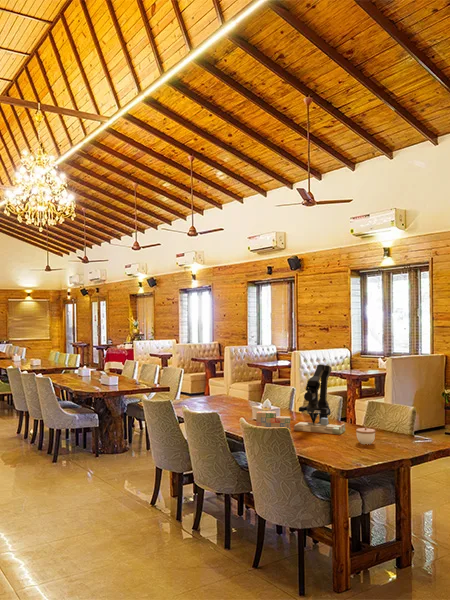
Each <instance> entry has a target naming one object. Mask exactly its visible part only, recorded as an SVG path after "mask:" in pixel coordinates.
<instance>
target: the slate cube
mask: <svg viewBox="0 0 450 600" xmlns="http://www.w3.org/2000/svg"><path fill="white" fill-rule="evenodd" d="M328 422H329V417H328V418H321V425H328V424H329V423H328Z"/></svg>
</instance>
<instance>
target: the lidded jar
mask: <svg viewBox="0 0 450 600" xmlns="http://www.w3.org/2000/svg"><path fill="white" fill-rule="evenodd" d="M355 433H356V439H357V441H358V442H359V443H360V444H361V445H365V444H367V445H368V444H369V445H372V443H373V442H375V438H376V437H375V436H376V429H375V428H374V429H373V428H368V427H367V426H364V427H358V428H356V430H355ZM369 445H368V446H369Z"/></svg>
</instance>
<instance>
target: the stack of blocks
mask: <svg viewBox="0 0 450 600" xmlns="http://www.w3.org/2000/svg"><path fill="white" fill-rule="evenodd" d="M255 421H256V422H255V423H256V426H264V427H287V428H289V429H290V430H291V416H285V415H283V416H281V415H277V411H273V410H271V411H267V410H261V411H260V410H258V411H256V420H255Z"/></svg>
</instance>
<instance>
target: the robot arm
mask: <svg viewBox="0 0 450 600" xmlns="http://www.w3.org/2000/svg"><path fill="white" fill-rule="evenodd" d="M331 372H332V367H331V366H330V365H328V364H327V365H325V364H317V365H316V369H315V371H314V373H313V375H312V377H310V378H309V379H308V381H307V383H306V388H305V391H306V392H305V393H304V395H303V397H304V400H305V401H306V402H308V404H307V406H304V405H301V406H300V407H298V412H299V413H300V412H301V413H304V412H307V413H306V414H308V415H309V417H310V418H311V423H316V420H317V418H318V417H319V418H318V420H319V421H318V422H317V423H318V424H321V418H328V419H329V416H330V415H331V413H332V412H331V408H330V405H329V404H330V403H329V402H328V399H327V396H328V379H329V378H330V377H331ZM329 423H330V421H328V424H329Z"/></svg>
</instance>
